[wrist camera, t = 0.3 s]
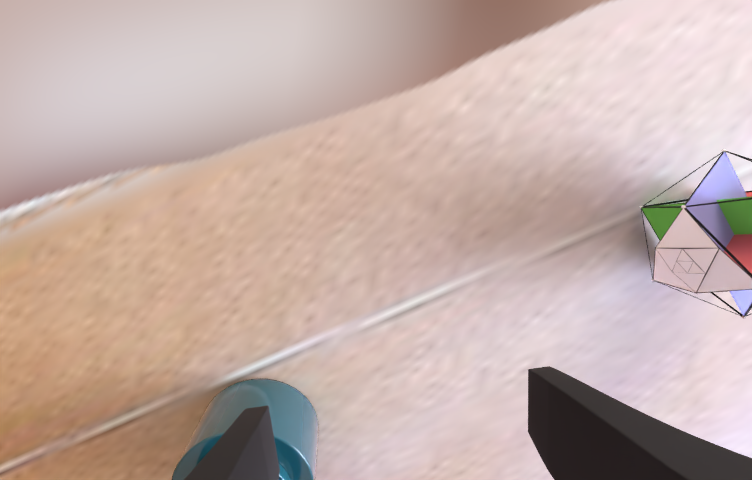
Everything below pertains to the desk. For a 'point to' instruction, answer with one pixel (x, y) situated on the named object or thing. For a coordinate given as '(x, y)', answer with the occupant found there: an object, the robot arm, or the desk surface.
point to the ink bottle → (288, 419)
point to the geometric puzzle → (707, 237)
